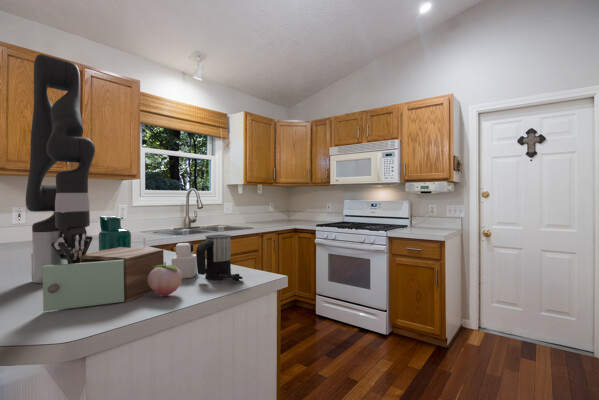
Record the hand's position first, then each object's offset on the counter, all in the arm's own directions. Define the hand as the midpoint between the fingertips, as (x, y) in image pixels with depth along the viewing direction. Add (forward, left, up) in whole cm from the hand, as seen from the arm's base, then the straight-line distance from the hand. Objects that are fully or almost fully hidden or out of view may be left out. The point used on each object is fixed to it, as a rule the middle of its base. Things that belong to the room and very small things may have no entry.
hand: (73, 273), depth 84 cm
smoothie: (-4, +28, -8) cm, 30 cm away
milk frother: (+26, +33, -8) cm, 43 cm away
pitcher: (-13, +24, -8) cm, 28 cm away
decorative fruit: (+20, +12, -8) cm, 25 cm away
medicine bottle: (+10, +33, -8) cm, 35 cm away
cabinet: (+4, +12, -8) cm, 15 cm away
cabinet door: (+6, -2, -8) cm, 10 cm away
